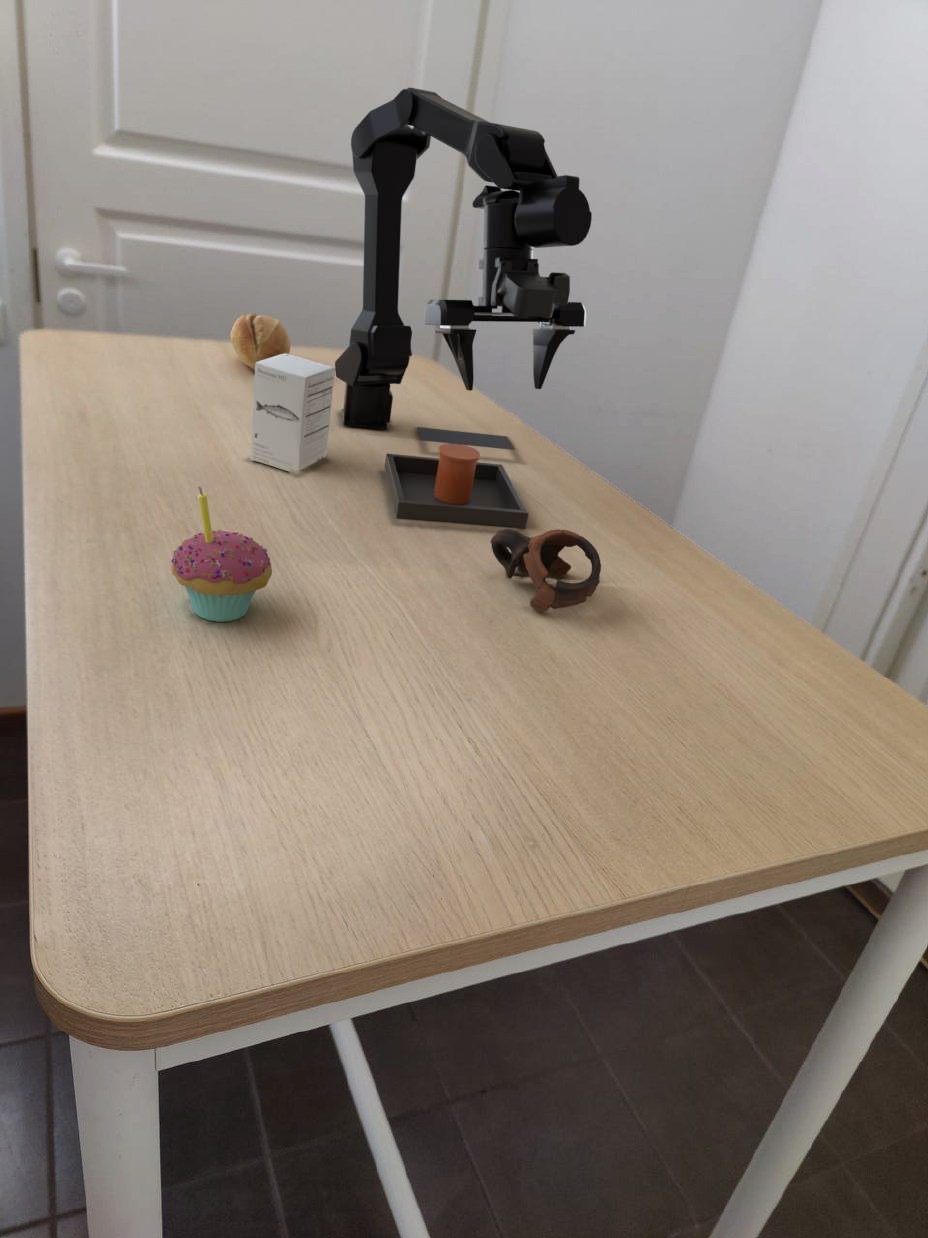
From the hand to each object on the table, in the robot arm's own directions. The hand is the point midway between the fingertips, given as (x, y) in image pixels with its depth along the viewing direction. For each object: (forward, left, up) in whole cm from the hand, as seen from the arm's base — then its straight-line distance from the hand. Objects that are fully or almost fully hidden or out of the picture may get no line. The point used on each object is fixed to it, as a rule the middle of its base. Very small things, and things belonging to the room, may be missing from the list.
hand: (504, 389), depth 106 cm
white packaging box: (-25, +7, -14) cm, 29 cm away
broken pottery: (+1, -24, -14) cm, 28 cm away
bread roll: (-30, +50, -14) cm, 60 cm away
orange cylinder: (-5, -2, -13) cm, 14 cm away
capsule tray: (-5, -2, -14) cm, 15 cm away
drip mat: (+1, +20, -14) cm, 24 cm away
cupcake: (-31, -31, -14) cm, 46 cm away
